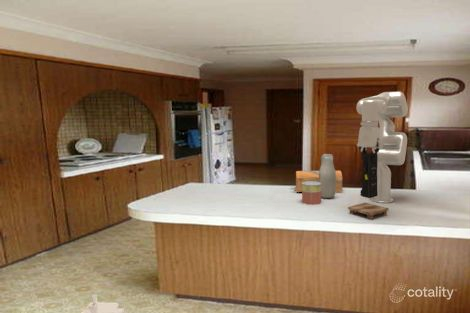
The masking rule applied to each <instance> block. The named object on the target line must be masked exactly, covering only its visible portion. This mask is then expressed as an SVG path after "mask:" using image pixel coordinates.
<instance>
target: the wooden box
mask: <svg viewBox="0 0 470 313" xmlns="http://www.w3.org/2000/svg"><path fill="white" fill-rule="evenodd" d="M335 172H336V192H335V194H343V173H342V171H341V170H335ZM306 181H316V182H319V170H296V171H295V189H296V191H297V192H302V182H306ZM297 192H296V193H297Z"/></svg>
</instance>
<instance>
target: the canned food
mask: <svg viewBox="0 0 470 313" xmlns="http://www.w3.org/2000/svg"><path fill="white" fill-rule="evenodd" d="M301 202H302V203H303V204H304V205H305V204H306V205H310V206H311V205H315V204H316V205H320V204H321V203H322V197H321V183H320V182H316V181H306V182H302V193H301Z"/></svg>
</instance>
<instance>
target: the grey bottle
mask: <svg viewBox="0 0 470 313" xmlns="http://www.w3.org/2000/svg"><path fill="white" fill-rule="evenodd" d="M318 171H319V182H320V183H321V198H324V199H333V198H334V197H335V195H336V193H335V192H336V172H335V171H336V169H335V165H334V156H333V154H332V153H331V154H330V153H324V154H322V155H321V157H320V167H319V170H318Z"/></svg>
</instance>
